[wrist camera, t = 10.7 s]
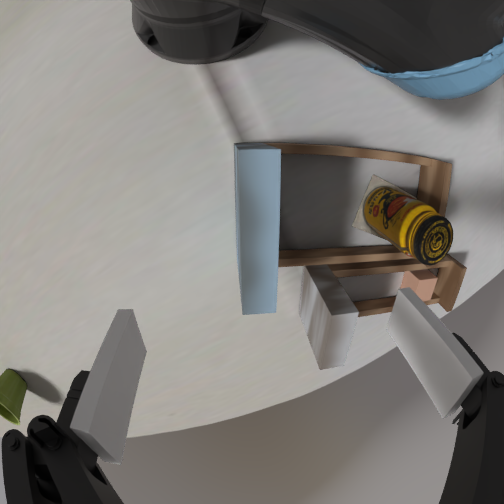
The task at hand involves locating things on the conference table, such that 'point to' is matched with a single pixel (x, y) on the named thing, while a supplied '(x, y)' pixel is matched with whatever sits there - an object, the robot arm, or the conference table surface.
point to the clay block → (420, 283)
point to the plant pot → (11, 396)
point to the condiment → (404, 222)
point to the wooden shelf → (268, 216)
